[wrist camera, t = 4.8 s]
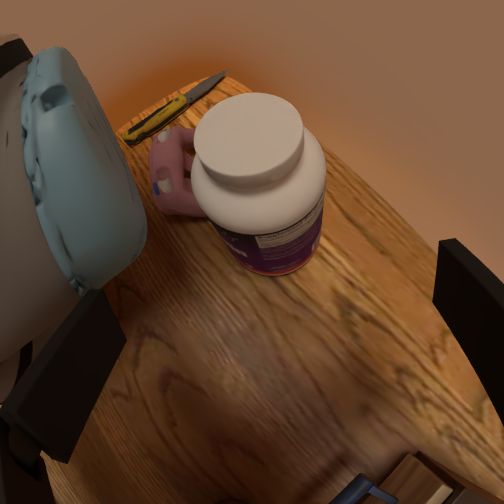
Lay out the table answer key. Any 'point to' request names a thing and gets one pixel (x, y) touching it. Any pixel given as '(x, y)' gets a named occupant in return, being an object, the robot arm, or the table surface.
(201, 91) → the utility knife
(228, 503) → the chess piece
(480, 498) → the cabinet
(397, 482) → the drawer
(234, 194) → the pill bottle
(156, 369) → the table surface
